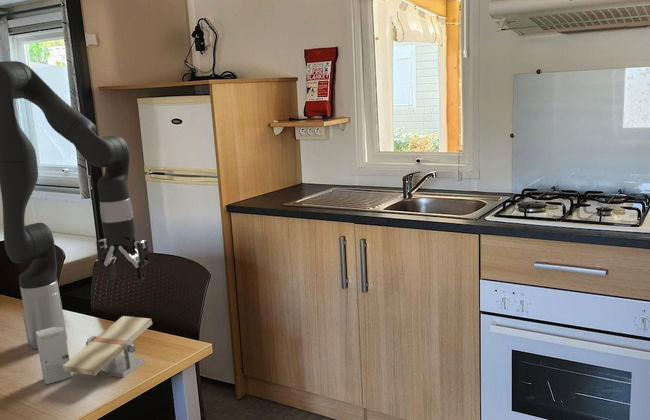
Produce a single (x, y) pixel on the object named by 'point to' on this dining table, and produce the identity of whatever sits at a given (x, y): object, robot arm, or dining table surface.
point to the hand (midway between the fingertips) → (126, 280)
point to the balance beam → (107, 345)
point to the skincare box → (53, 353)
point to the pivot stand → (121, 361)
